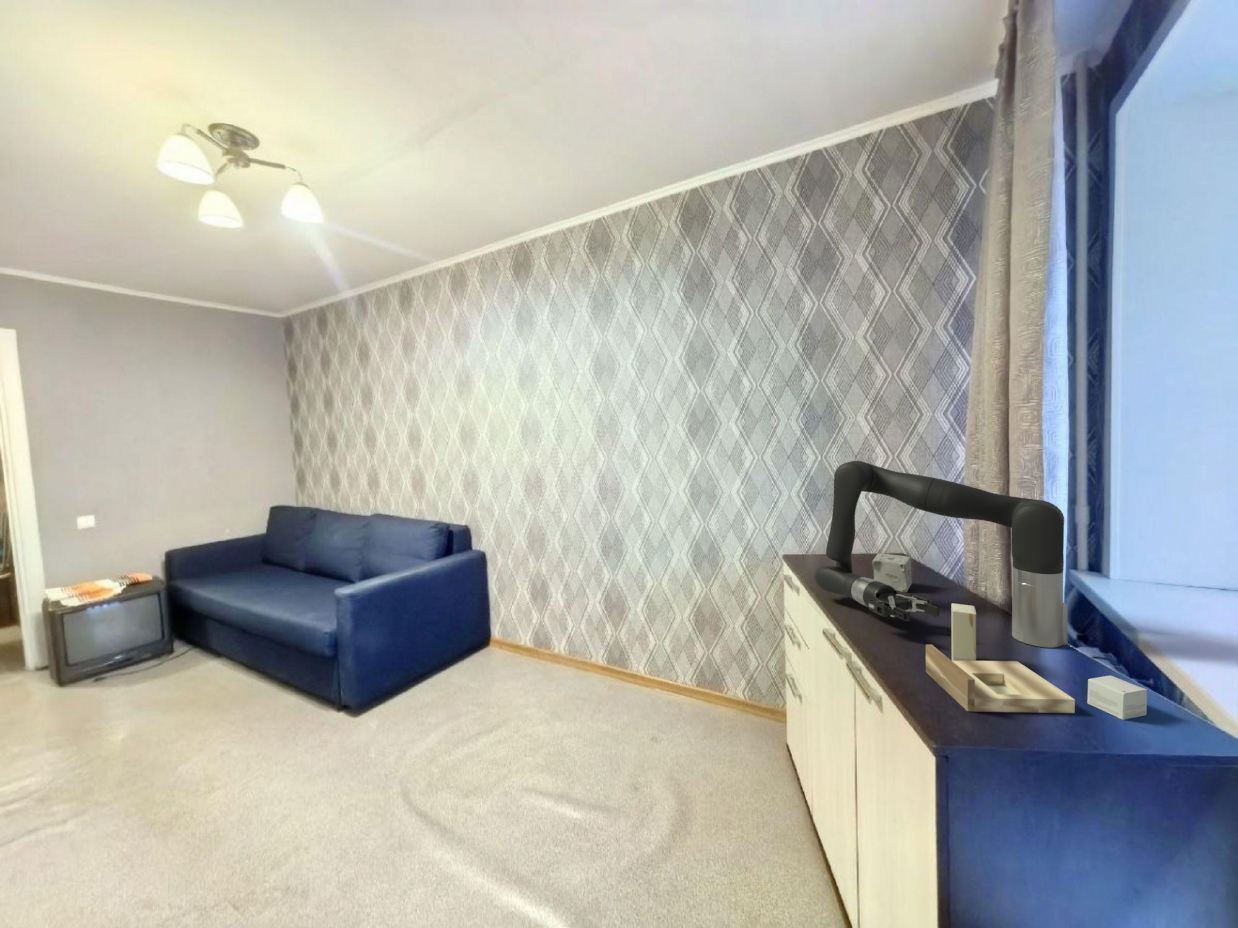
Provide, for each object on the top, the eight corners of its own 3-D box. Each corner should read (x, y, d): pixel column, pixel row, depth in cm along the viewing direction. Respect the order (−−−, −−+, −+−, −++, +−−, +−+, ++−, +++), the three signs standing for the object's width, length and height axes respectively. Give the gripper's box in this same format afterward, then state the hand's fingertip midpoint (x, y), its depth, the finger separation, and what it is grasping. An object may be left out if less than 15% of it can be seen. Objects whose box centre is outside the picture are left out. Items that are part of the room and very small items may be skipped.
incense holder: (871, 588, 161) (871, 557, 160) (879, 582, 167) (878, 551, 166) (905, 594, 154) (905, 561, 153) (912, 587, 160) (912, 555, 159)
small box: (1147, 715, 88) (1148, 688, 87) (1122, 721, 87) (1123, 693, 86) (1109, 699, 93) (1110, 673, 93) (1086, 703, 92) (1086, 678, 92)
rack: (1016, 672, 104) (1017, 644, 104) (1074, 712, 89) (1075, 680, 89) (925, 671, 106) (925, 644, 106) (967, 711, 91) (967, 679, 91)
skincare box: (976, 670, 106) (976, 614, 105) (952, 666, 108) (952, 611, 107) (974, 658, 111) (974, 604, 110) (951, 654, 113) (951, 602, 113)
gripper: (850, 583, 133) (898, 603, 117) (895, 577, 136) (947, 595, 121) (851, 611, 133) (899, 634, 118) (895, 604, 137) (947, 626, 121)
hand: (923, 614), depth 119 cm, fingers open, 8 cm apart
